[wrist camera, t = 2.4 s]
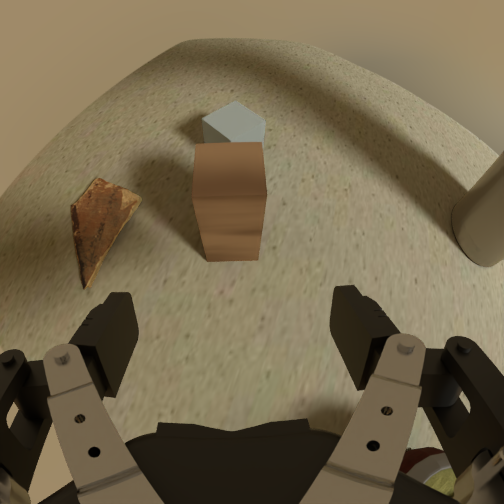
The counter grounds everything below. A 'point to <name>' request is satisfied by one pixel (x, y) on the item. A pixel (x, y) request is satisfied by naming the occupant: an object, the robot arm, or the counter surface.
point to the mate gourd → (430, 469)
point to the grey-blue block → (233, 125)
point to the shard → (99, 224)
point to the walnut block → (230, 199)
